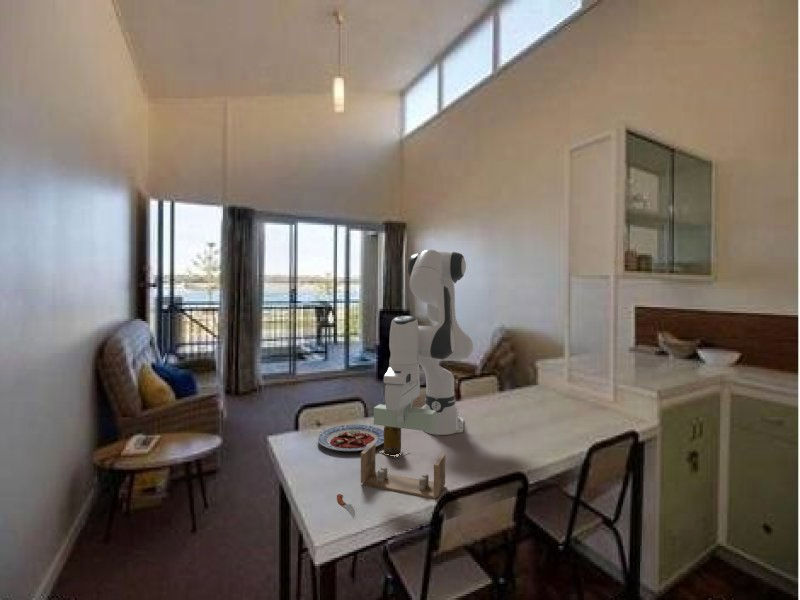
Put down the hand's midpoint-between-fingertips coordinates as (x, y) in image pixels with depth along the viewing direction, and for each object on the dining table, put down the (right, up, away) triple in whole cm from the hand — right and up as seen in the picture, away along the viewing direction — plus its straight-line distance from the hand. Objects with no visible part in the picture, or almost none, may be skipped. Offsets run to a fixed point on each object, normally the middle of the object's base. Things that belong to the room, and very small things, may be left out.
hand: (404, 418), depth 126 cm
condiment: (-3, -19, +25) cm, 31 cm away
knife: (-15, -21, -10) cm, 28 cm away
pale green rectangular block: (0, -2, 0) cm, 2 cm away
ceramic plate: (-19, -18, +35) cm, 44 cm away
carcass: (0, -20, +1) cm, 20 cm away
